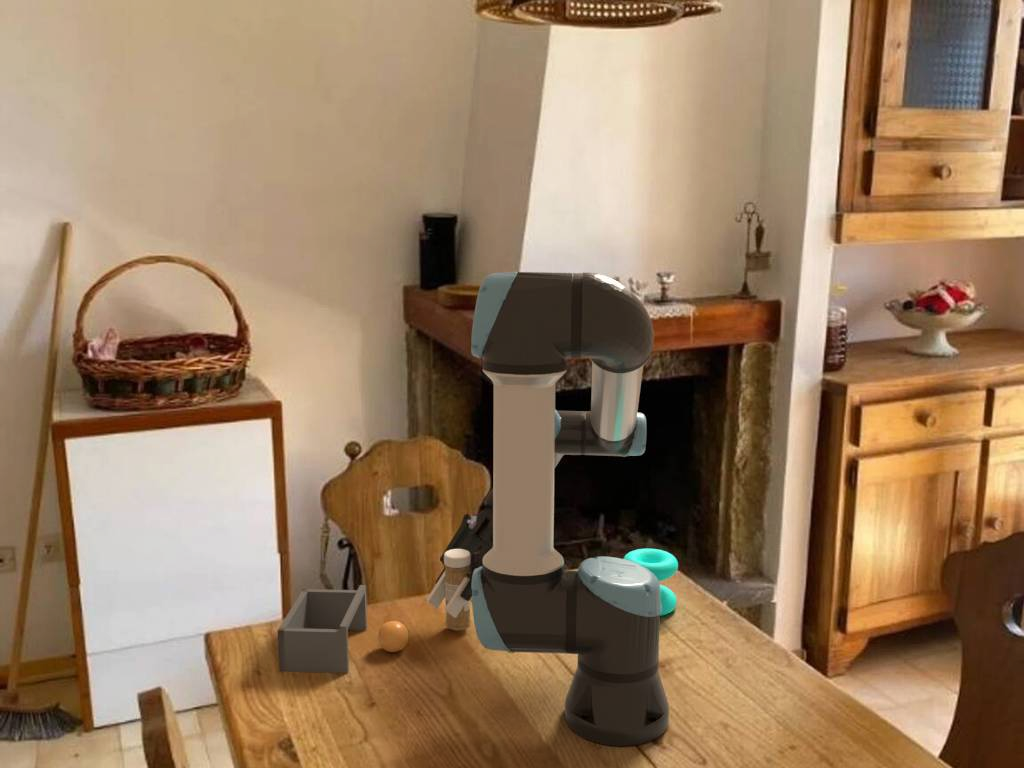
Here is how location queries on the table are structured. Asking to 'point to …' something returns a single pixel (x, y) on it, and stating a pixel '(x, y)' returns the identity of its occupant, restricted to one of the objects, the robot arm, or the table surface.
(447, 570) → the sprinkles bottle
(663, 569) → the donuts
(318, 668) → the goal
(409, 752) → the table surface
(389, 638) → the ball
